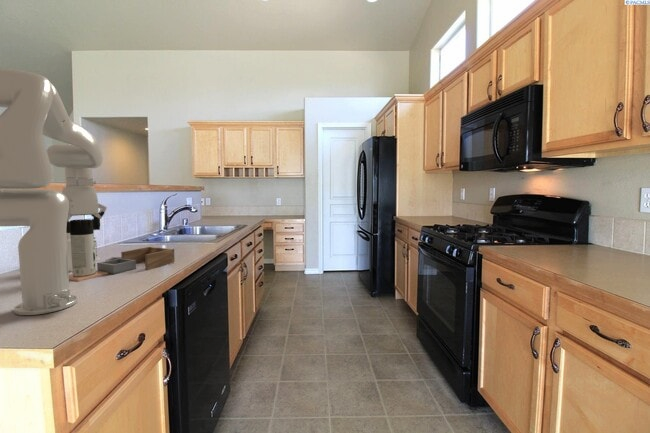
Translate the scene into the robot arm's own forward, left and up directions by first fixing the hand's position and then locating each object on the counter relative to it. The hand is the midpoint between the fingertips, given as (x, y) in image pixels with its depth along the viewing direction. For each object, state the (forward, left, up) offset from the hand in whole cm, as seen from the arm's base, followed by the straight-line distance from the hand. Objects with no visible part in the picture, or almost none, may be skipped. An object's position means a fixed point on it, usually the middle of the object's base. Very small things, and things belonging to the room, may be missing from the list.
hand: (82, 231), depth 111 cm
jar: (+15, -4, -17) cm, 23 cm away
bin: (-3, -10, -16) cm, 20 cm away
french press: (+27, -17, -17) cm, 36 cm away
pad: (0, 0, -16) cm, 16 cm away
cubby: (-6, -22, -16) cm, 28 cm away
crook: (+8, -22, -17) cm, 29 cm away
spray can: (0, 0, -16) cm, 16 cm away
